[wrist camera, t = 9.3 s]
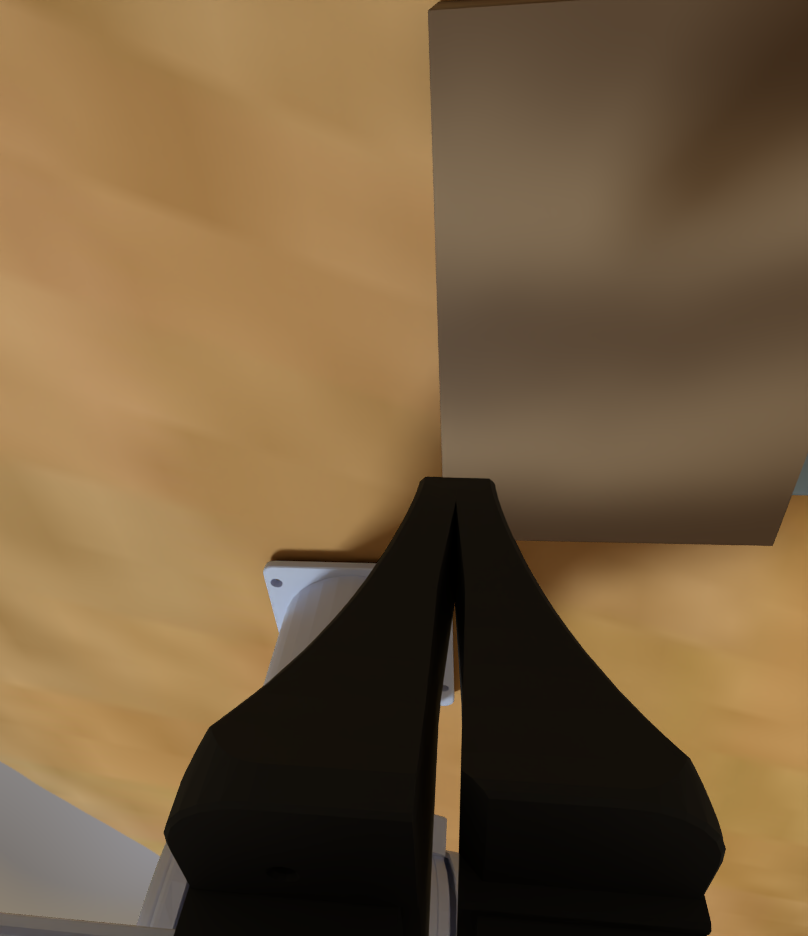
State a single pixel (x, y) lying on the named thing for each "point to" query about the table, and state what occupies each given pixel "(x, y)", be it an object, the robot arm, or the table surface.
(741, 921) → the table surface
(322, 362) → the table surface
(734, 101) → the brown flat block
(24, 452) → the table surface
